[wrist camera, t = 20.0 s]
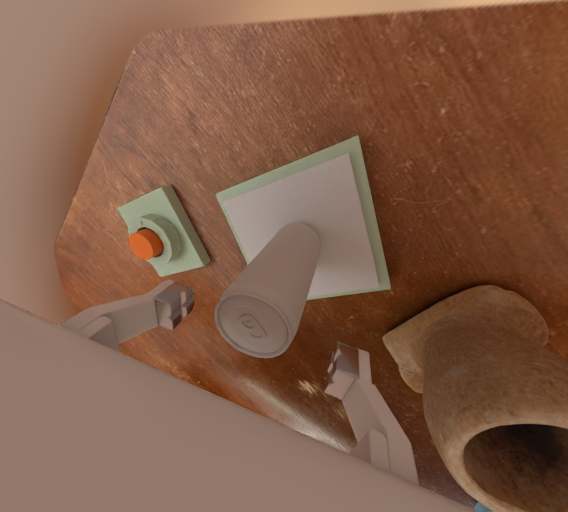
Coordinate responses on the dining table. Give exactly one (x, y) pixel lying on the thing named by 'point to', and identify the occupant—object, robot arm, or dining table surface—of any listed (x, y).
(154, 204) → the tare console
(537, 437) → the tan stone pipe
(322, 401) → the dining table surface
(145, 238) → the button
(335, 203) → the scale
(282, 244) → the beverage can
